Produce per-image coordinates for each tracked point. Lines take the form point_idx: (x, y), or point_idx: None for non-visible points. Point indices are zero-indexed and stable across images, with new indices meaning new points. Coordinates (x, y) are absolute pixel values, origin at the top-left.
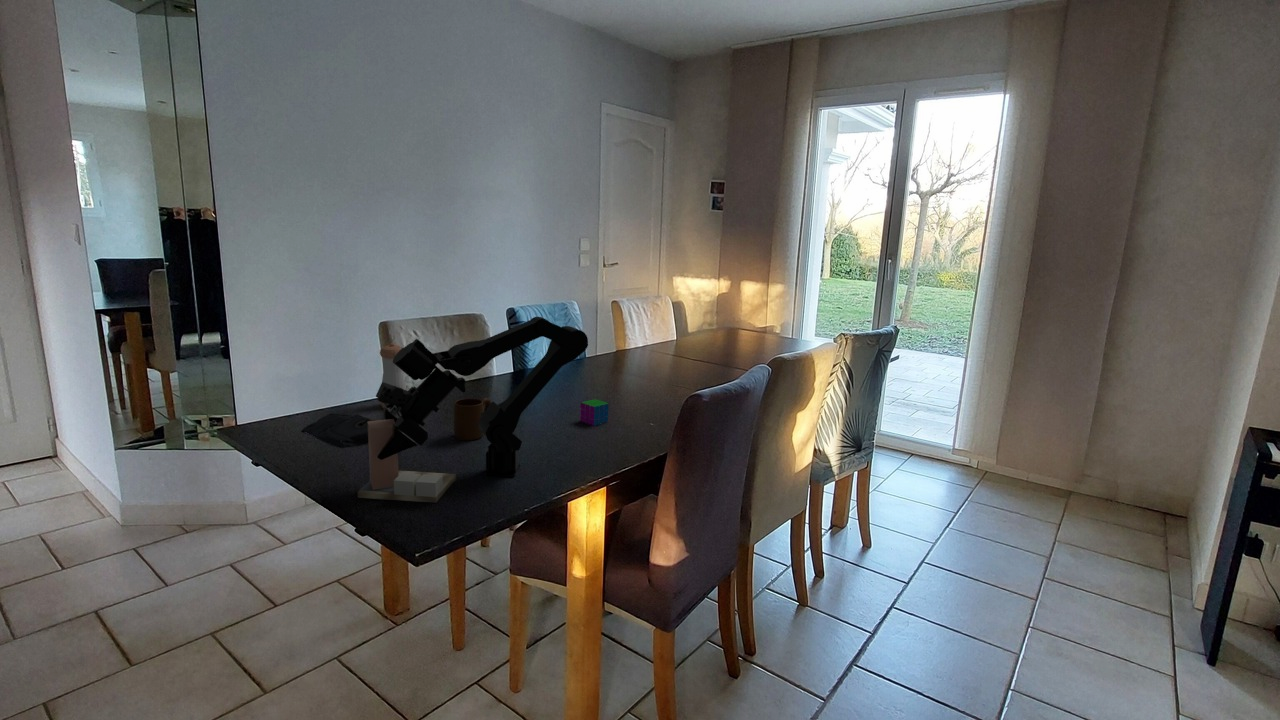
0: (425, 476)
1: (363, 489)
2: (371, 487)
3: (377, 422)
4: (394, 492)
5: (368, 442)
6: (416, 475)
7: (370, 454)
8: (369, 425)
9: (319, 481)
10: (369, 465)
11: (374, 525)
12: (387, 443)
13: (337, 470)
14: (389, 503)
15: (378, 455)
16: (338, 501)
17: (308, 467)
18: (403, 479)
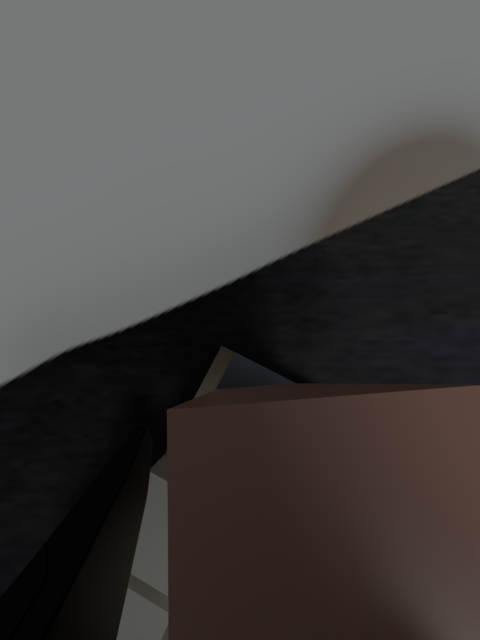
0: (139, 623)
1: (229, 362)
2: (237, 385)
3: (425, 519)
4: (161, 457)
5: (349, 384)
6: (167, 577)
7: (247, 390)
8: (305, 406)
9: (363, 256)
10: (309, 383)
11: (24, 386)
12: (49, 546)
13: (436, 297)
14: (151, 433)
15: (129, 436)
16: (215, 301)
17: (467, 229)
18: (144, 513)
